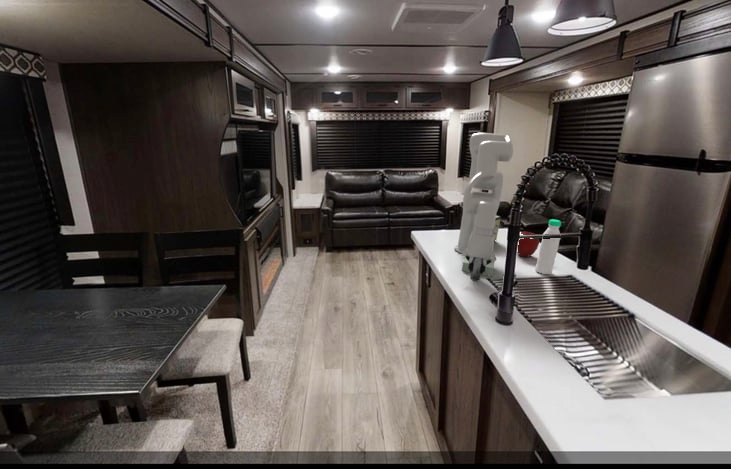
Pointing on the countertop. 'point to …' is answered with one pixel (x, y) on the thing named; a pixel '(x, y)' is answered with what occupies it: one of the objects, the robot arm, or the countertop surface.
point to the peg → (476, 268)
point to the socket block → (487, 269)
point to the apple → (527, 245)
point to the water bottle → (548, 249)
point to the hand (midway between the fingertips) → (476, 271)
